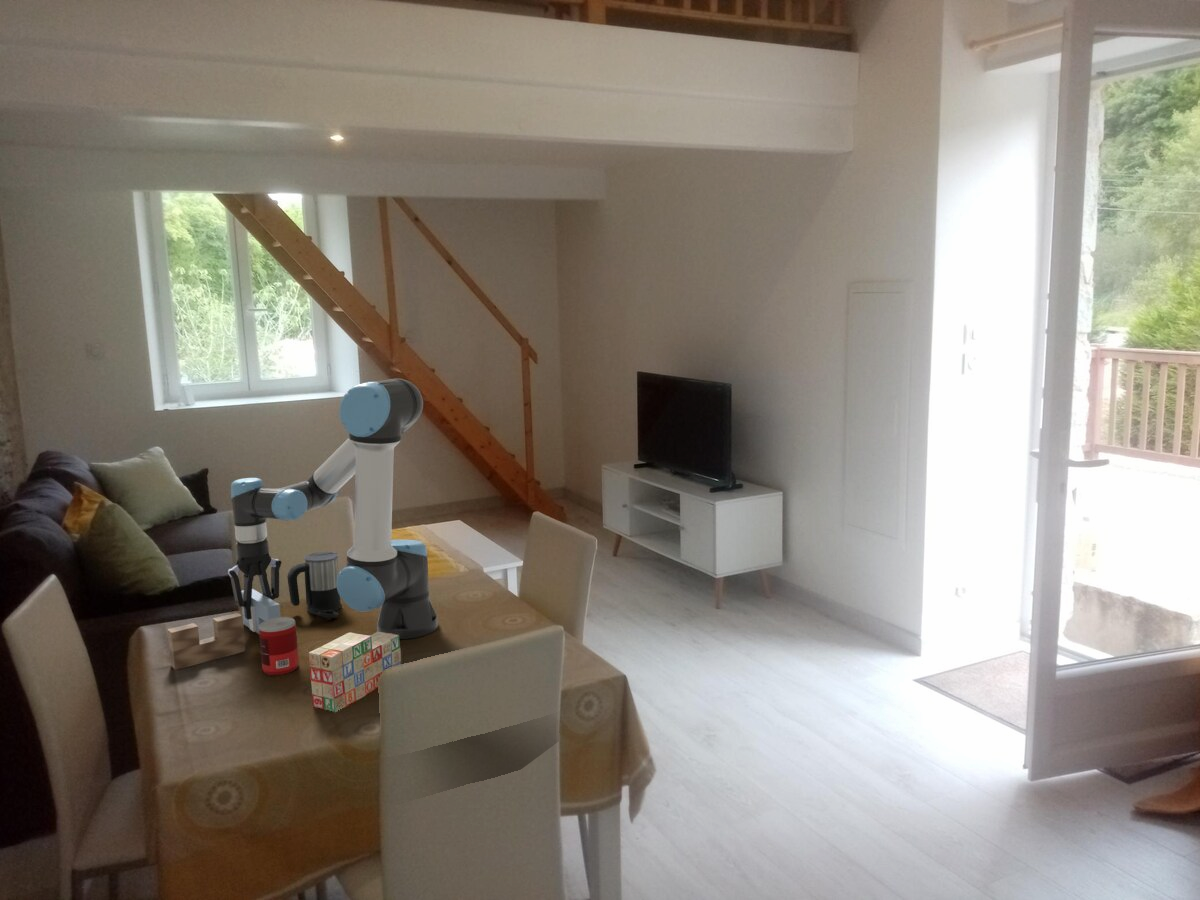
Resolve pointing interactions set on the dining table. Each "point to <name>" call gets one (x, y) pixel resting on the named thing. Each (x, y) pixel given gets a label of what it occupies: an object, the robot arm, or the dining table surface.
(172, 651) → the light brown wooden block
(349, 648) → the stack of blocks
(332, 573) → the milk frother
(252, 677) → the dining table surface
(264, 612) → the pale blue flat block
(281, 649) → the canned food
